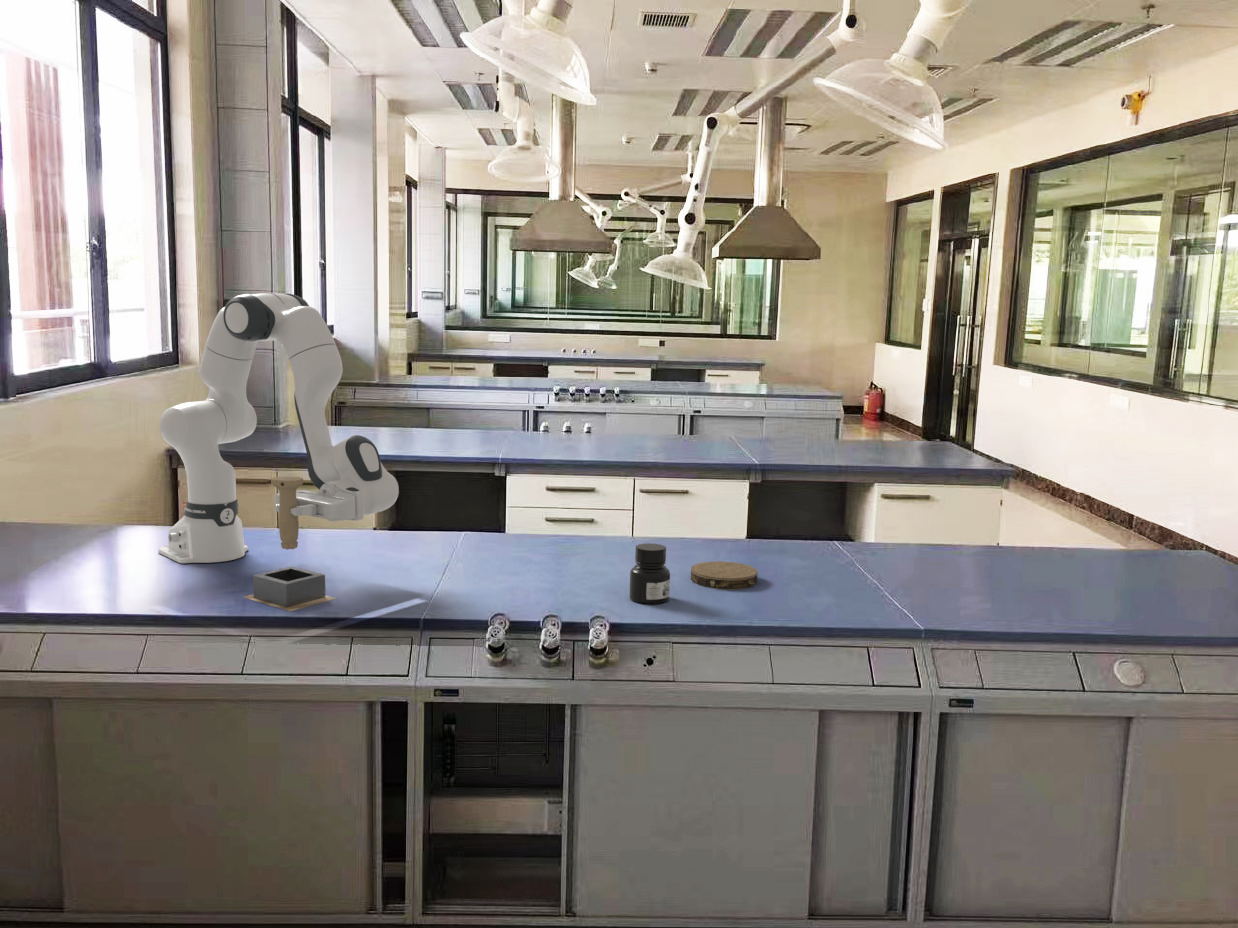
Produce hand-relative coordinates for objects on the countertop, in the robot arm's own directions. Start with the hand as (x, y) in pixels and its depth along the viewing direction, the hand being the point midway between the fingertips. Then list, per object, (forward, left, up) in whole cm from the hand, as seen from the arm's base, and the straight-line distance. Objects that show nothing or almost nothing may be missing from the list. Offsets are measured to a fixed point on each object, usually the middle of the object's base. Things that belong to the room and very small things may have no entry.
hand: (284, 510), depth 220 cm
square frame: (0, +1, -19) cm, 19 cm away
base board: (0, +1, -20) cm, 20 cm away
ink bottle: (+58, +53, -20) cm, 81 cm away
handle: (0, +1, -8) cm, 9 cm away
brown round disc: (+63, +78, -21) cm, 102 cm away
